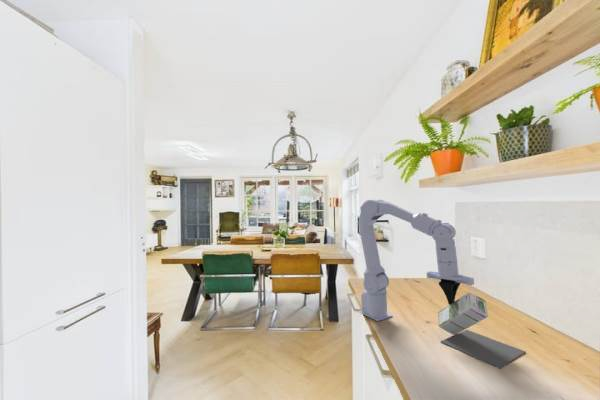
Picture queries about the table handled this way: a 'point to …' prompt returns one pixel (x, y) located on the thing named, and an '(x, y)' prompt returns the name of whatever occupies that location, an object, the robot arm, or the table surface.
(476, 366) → the table surface
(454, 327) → the syrup box
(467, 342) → the rubber mat
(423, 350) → the table surface
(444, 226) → the robot arm
